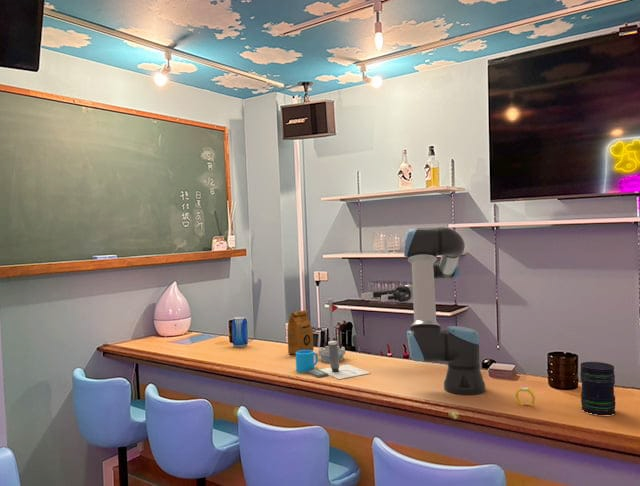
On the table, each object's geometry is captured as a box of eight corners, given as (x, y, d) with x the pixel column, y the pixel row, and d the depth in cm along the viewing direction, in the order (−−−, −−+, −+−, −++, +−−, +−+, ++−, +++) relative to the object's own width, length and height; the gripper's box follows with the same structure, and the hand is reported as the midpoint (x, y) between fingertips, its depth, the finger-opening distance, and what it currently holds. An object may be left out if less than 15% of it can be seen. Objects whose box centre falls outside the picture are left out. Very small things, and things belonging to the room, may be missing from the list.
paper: (370, 373, 220) (370, 372, 220) (338, 379, 212) (338, 378, 212) (347, 365, 235) (347, 364, 235) (317, 370, 228) (317, 369, 228)
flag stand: (331, 364, 238) (329, 300, 238) (313, 359, 248) (311, 298, 248) (351, 359, 247) (349, 297, 247) (332, 355, 257) (331, 295, 257)
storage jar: (583, 414, 163) (581, 368, 163) (579, 405, 172) (578, 361, 172) (618, 417, 159) (617, 370, 159) (612, 407, 169) (611, 362, 169)
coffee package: (316, 352, 263) (315, 310, 263) (298, 357, 255) (296, 313, 255) (304, 350, 271) (302, 308, 271) (285, 354, 262) (284, 311, 262)
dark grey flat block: (328, 375, 219) (328, 373, 219) (317, 377, 216) (317, 375, 216) (316, 370, 227) (316, 368, 227) (306, 372, 225) (306, 370, 225)
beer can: (246, 347, 281) (245, 318, 281) (231, 348, 281) (230, 319, 281) (249, 344, 290) (248, 316, 290) (234, 344, 290) (233, 316, 290)
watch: (515, 405, 174) (513, 388, 175) (518, 403, 177) (516, 386, 177) (533, 407, 171) (531, 390, 171) (536, 405, 173) (534, 387, 173)
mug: (304, 373, 224) (304, 355, 224) (292, 370, 230) (291, 352, 230) (324, 368, 232) (323, 350, 232) (311, 365, 238) (311, 347, 238)
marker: (341, 370, 223) (338, 341, 223) (334, 372, 221) (331, 343, 221) (336, 369, 227) (334, 340, 226) (329, 371, 225) (326, 342, 224)
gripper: (425, 303, 231) (391, 308, 218) (388, 299, 251) (354, 303, 239) (425, 287, 231) (390, 290, 218) (387, 284, 251) (354, 287, 239)
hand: (371, 297), depth 229 cm, fingers open, 13 cm apart
